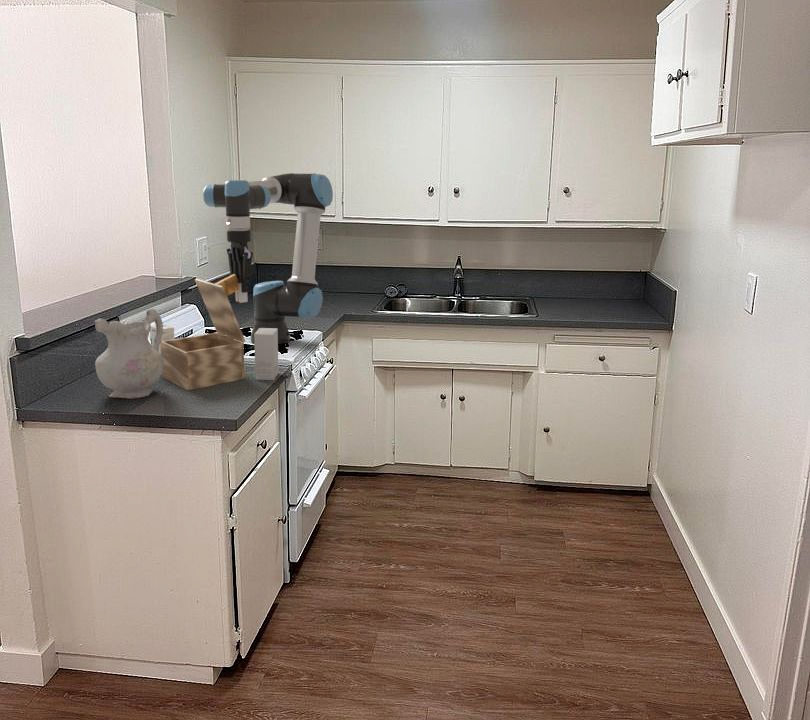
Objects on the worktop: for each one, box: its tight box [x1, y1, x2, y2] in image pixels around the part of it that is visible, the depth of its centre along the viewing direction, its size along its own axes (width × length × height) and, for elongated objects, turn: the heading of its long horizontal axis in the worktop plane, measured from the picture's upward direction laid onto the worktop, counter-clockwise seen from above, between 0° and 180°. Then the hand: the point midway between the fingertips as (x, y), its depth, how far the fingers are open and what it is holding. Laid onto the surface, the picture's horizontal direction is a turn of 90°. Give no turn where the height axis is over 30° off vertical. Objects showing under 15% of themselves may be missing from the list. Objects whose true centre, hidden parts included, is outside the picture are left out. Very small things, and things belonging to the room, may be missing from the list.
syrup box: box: [149, 324, 175, 354], centre depth 256 cm, size 6×6×14 cm
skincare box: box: [253, 328, 279, 381], centre depth 247 cm, size 8×7×16 cm
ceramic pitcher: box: [94, 308, 164, 400], centre depth 229 cm, size 22×20×25 cm
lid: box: [194, 274, 246, 344], centre depth 248 cm, size 20×18×10 cm
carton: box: [160, 332, 246, 391], centre depth 246 cm, size 20×18×12 cm
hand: (241, 301), depth 250 cm, fingers closed on lid, 2 cm apart
